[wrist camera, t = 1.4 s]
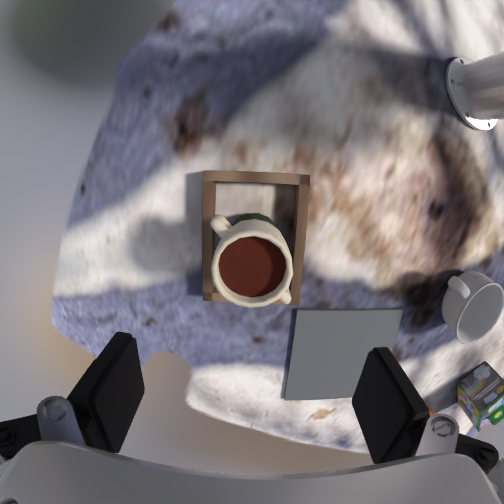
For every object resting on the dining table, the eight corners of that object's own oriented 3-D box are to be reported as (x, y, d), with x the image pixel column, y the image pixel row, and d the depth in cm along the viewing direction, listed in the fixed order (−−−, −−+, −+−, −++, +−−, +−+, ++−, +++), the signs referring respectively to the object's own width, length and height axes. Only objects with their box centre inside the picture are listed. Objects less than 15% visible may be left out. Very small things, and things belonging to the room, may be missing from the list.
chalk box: (457, 402, 47) (483, 442, 33) (456, 382, 45) (487, 425, 31) (485, 381, 46) (514, 417, 31) (486, 359, 43) (520, 396, 29)
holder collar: (306, 175, 34) (310, 175, 32) (296, 296, 39) (298, 304, 37) (206, 170, 34) (203, 170, 32) (206, 292, 39) (203, 300, 37)
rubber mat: (402, 307, 39) (403, 309, 39) (374, 392, 44) (375, 394, 44) (296, 308, 39) (297, 310, 39) (284, 398, 45) (284, 400, 44)
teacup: (483, 293, 39) (508, 312, 31) (444, 333, 41) (466, 357, 33) (461, 238, 36) (492, 252, 28) (416, 283, 38) (443, 305, 31)
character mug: (204, 223, 36) (177, 252, 24) (246, 185, 35) (239, 194, 22) (260, 283, 39) (262, 336, 26) (302, 249, 37) (323, 289, 25)
